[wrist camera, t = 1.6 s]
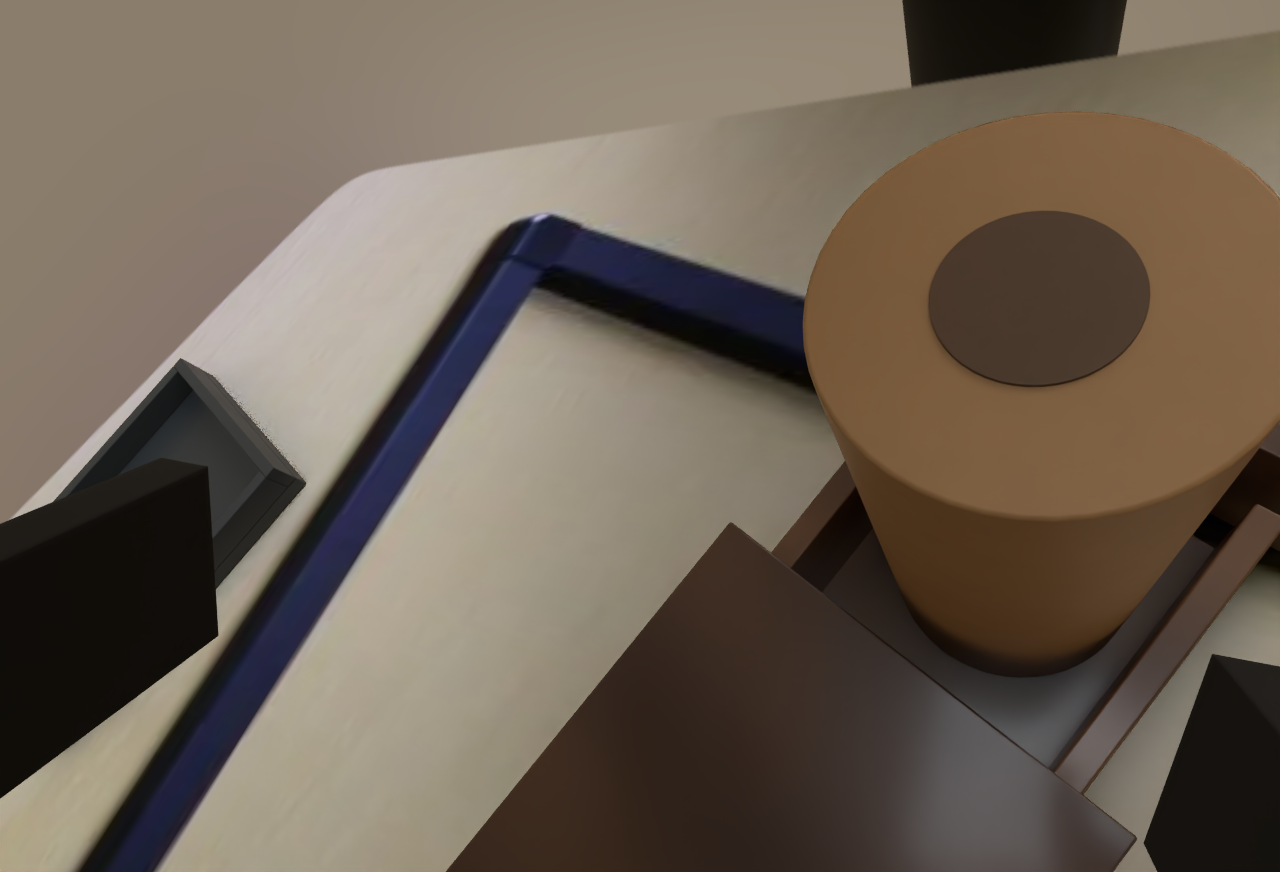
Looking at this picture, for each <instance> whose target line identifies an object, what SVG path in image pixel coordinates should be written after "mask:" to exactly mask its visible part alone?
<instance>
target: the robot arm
mask: <svg viewBox="0 0 1280 872" xmlns="http://www.w3.org/2000/svg"><path fill="white" fill-rule="evenodd" d="M217 636H218V621H217V605H216V588H215V572H214V555H213V539H212V523H211V506H210V490H209V474H208V466H203V465H198V464H192V463H187V462H182V461H176V460H171V459H165V458H159V459H156V460H154V461H151V462H149V463H147V464H144V465H142V466H139V467H137V468H134V469H132V470H130V471H127V472H125V473H122V474H120V475H117V476H115V477H113V478H110V479H108V480H105V481H103V482H101V483H98V484H96V485H93V486H91V487H88V488H86V489H84V490H81V491H79V492H76V493H74V494H72V495H69V496H67V497H64V498H62V499H59V500H57V501H55V502H52V503H50V504H47V505H45V506H42V507H40V508H38V509H35V510H33V511H30V512H28V513H26V514H23V515H21V516H18V517H16V518H13V519H11V520H9V521H6V522H4V523H2V524H0V798H2V797H3V796H4V795H6V794H7V793H8V792H10V791H11V790H12V789H14V788H15V787H16V786H18V785H19V784H20V783H22V782H23V781H24V780H26V779H27V778H28V777H30V776H31V775H33V774H34V773H35V772H37V771H38V770H39V769H41V768H42V767H43V766H45V765H46V764H47V763H49V762H50V761H51V760H53V759H54V758H55V757H57V756H58V755H59V754H61V753H62V752H63V751H65V750H66V749H67V748H69V747H70V746H71V745H73V744H74V743H75V742H77V741H78V740H79V739H81V738H82V737H83V736H85V735H86V734H87V733H89V732H90V731H91V730H93V729H94V728H95V727H97V726H98V725H99V724H101V723H102V722H103V721H105V720H106V719H107V718H109V717H110V716H112V715H113V714H114V713H116V712H117V711H118V710H120V709H121V708H122V707H124V706H125V705H126V704H128V703H129V702H130V701H132V700H133V699H134V698H136V697H137V696H138V695H140V694H141V693H142V692H144V691H145V690H146V689H148V688H149V687H150V686H152V685H153V684H154V683H156V682H157V681H158V680H160V679H161V678H162V677H164V676H165V675H166V674H168V673H169V672H170V671H172V670H173V669H174V668H176V667H177V666H178V665H180V664H181V663H182V662H184V661H185V660H186V659H188V658H189V657H191V656H192V655H193V654H195V653H196V652H197V651H199V650H200V649H201V648H203V647H204V646H205V645H207V644H208V643H209V642H211V641H212V640H213V639H215V638H216V637H217ZM1144 845H1145V847H1146V849H1147V851H1148V853H1149V855H1150V857H1151V859H1152V861H1153V863H1154V866H1155V868H1156V870H1157V872H1280V667H1279V666H1273V665H1268V664H1263V663H1257V662H1252V661H1247V660H1241V659H1236V658H1231V657H1225V656H1220V655H1215V654H1212V656H1211V659H1210V662H1209V665H1208V667H1207V670H1206V673H1205V676H1204V678H1203V681H1202V684H1201V687H1200V689H1199V692H1198V695H1197V698H1196V700H1195V703H1194V706H1193V709H1192V711H1191V714H1190V717H1189V720H1188V722H1187V725H1186V728H1185V731H1184V733H1183V736H1182V739H1181V742H1180V744H1179V747H1178V750H1177V753H1176V755H1175V758H1174V761H1173V764H1172V766H1171V769H1170V772H1169V775H1168V777H1167V780H1166V783H1165V786H1164V788H1163V791H1162V794H1161V797H1160V799H1159V802H1158V805H1157V808H1156V810H1155V813H1154V816H1153V819H1152V821H1151V824H1150V827H1149V830H1148V832H1147V835H1146V838H1145V841H1144Z"/></svg>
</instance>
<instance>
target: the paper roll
mask: <svg viewBox="0 0 1280 872" xmlns="http://www.w3.org/2000/svg"><path fill="white" fill-rule="evenodd" d="M803 339H804V350H805V355H806V360H807V365H808V369H809V373H810V376H811V379H812V381H813V384H814V387H815V389H816V392H817V395H818V397H819V399H820V402H821V404H822V407H823V409H824V411H825V414H826V416H827V419H828V421H829V423H830V426H831V428H832V430H833V433H834V435H835V438H836V440H837V442H838V445H839V447H840V450H841V452H842V454H843V457H844V459H845V461H846V464H847V466H848V469H849V471H850V473H851V476H852V478H853V480H854V483H855V485H856V488H857V490H858V492H859V495H860V497H861V500H862V502H863V504H864V507H865V509H866V511H867V514H868V516H869V519H870V521H871V523H872V526H873V528H874V531H875V533H876V535H877V538H878V540H879V542H880V545H881V547H882V550H883V552H884V554H885V557H886V559H887V561H888V564H889V566H890V569H891V571H892V573H893V576H894V578H895V581H896V583H897V585H898V588H899V590H900V592H901V595H902V597H903V600H904V602H905V604H906V606H907V608H908V610H909V612H910V614H911V616H912V618H913V619H914V621H915V622H916V623H917V625H918V626H919V628H920V629H921V630H922V631H923V632H924V633H925V635H926V636H927V637H928V638H929V639H930V640H931V641H932V642H933V643H934V644H936V645H937V646H938V647H939V648H940V649H941V650H943V651H944V652H945V653H947V654H949V655H950V656H952V657H953V658H955V659H956V660H958V661H960V662H962V663H964V664H966V665H968V666H970V667H973V668H975V669H978V670H981V671H984V672H987V673H991V674H996V675H1000V676H1007V677H1017V678H1023V677H1040V676H1047V675H1052V674H1055V673H1059V672H1062V671H1066V670H1068V669H1070V668H1073V667H1075V666H1077V665H1080V664H1081V663H1083V662H1085V661H1086V660H1088V659H1089V658H1091V657H1093V656H1094V655H1095V654H1096V653H1098V652H1099V651H1100V650H1101V649H1102V648H1104V647H1105V646H1106V644H1107V643H1108V642H1109V641H1110V640H1111V639H1112V638H1113V637H1114V635H1115V634H1116V633H1117V632H1118V630H1119V629H1120V628H1121V626H1122V625H1123V624H1124V623H1125V621H1126V620H1127V619H1128V617H1129V616H1130V615H1131V614H1132V612H1133V611H1134V610H1135V608H1136V607H1137V606H1138V604H1139V603H1140V602H1141V601H1142V599H1143V598H1144V597H1145V595H1146V594H1147V593H1148V592H1149V590H1150V589H1151V588H1152V586H1153V585H1154V584H1155V582H1156V581H1157V580H1158V579H1159V577H1160V576H1161V575H1162V573H1163V572H1164V571H1165V570H1166V568H1167V567H1168V566H1169V564H1170V563H1171V562H1172V561H1173V559H1174V558H1175V557H1176V555H1177V554H1178V553H1179V551H1180V550H1181V549H1182V548H1183V546H1184V545H1185V544H1186V542H1187V541H1188V540H1189V539H1190V537H1191V536H1192V535H1193V533H1194V532H1195V531H1196V529H1197V528H1198V527H1199V526H1200V524H1201V523H1202V522H1203V520H1204V519H1205V518H1206V517H1207V515H1208V514H1209V513H1210V511H1211V510H1212V509H1213V507H1214V506H1215V505H1216V504H1217V502H1218V501H1219V500H1220V498H1221V497H1222V496H1223V495H1224V493H1225V492H1226V491H1227V489H1228V488H1229V487H1230V486H1231V484H1232V483H1233V482H1234V480H1235V479H1236V478H1237V476H1238V475H1239V474H1240V473H1241V471H1242V470H1243V469H1244V467H1245V466H1246V465H1247V464H1248V462H1249V461H1250V460H1251V458H1252V457H1253V456H1254V454H1255V453H1256V452H1257V451H1258V449H1259V448H1260V447H1261V445H1262V444H1263V443H1264V442H1265V440H1266V439H1267V438H1268V436H1269V435H1270V434H1271V433H1272V431H1273V430H1274V429H1275V427H1276V426H1277V425H1278V423H1279V422H1280V198H1279V197H1278V196H1277V194H1276V193H1275V192H1274V191H1273V190H1272V189H1271V188H1270V187H1269V186H1268V185H1267V184H1266V183H1265V182H1264V181H1263V180H1262V179H1261V178H1260V177H1259V176H1257V175H1256V174H1255V173H1254V172H1253V171H1252V170H1251V169H1249V168H1248V167H1247V166H1245V165H1244V164H1242V163H1241V162H1239V161H1238V160H1237V159H1235V158H1234V157H1232V156H1231V155H1230V154H1228V153H1227V152H1225V151H1223V150H1221V149H1219V148H1217V147H1215V146H1214V145H1212V144H1210V143H1208V142H1206V141H1204V140H1202V139H1201V138H1198V137H1196V136H1193V135H1191V134H1188V133H1185V132H1183V131H1180V130H1178V129H1175V128H1173V127H1170V126H1166V125H1162V124H1159V123H1155V122H1151V121H1148V120H1144V119H1140V118H1134V117H1128V116H1121V115H1115V114H1109V113H1092V112H1053V113H1041V114H1033V115H1025V116H1018V117H1013V118H1008V119H1004V120H999V121H995V122H991V123H986V124H983V125H980V126H977V127H974V128H971V129H968V130H965V131H962V132H959V133H957V134H954V135H952V136H950V137H947V138H945V139H943V140H940V141H938V142H936V143H933V144H931V145H930V146H928V147H926V148H924V149H922V150H921V151H919V152H917V153H915V154H913V155H912V156H910V157H908V158H907V159H905V160H904V161H902V162H901V163H899V164H898V165H896V166H895V167H894V168H892V169H891V170H889V171H888V172H886V173H885V174H884V175H883V176H882V177H880V178H879V179H878V180H877V181H876V182H875V183H873V184H872V185H871V186H870V187H869V188H868V189H866V190H865V191H864V192H863V193H862V195H861V196H860V197H859V198H858V199H857V200H856V201H855V202H854V203H853V204H852V205H851V206H850V207H849V209H848V210H847V211H846V212H845V214H844V215H843V216H842V218H841V219H840V221H839V222H838V223H837V225H836V226H835V227H834V229H833V230H832V232H831V234H830V235H829V237H828V239H827V241H826V243H825V244H824V246H823V248H822V250H821V252H820V254H819V256H818V259H817V261H816V264H815V266H814V269H813V272H812V274H811V277H810V281H809V285H808V289H807V293H806V297H805V304H804V315H803Z"/></svg>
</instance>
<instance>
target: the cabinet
mask: <svg viewBox="0 0 1280 872" xmlns="http://www.w3.org/2000/svg"><path fill="white" fill-rule="evenodd" d="M1136 841H1137V838H1136V836H1135V835H1134V834H1132V833H1131V832H1130V831H1128V830H1127V829H1126V828H1125V827H1123V826H1122V825H1121V824H1119V823H1118V822H1117V821H1116V820H1114V819H1113V818H1112V817H1110V816H1109V815H1108V814H1107V813H1105V812H1104V811H1103V810H1101V809H1100V808H1099V807H1098V806H1096V805H1095V804H1094V803H1092V802H1091V801H1090V800H1089V799H1087V798H1086V797H1085V796H1083V795H1082V794H1081V793H1080V792H1078V791H1077V790H1076V789H1074V788H1073V787H1072V786H1071V785H1069V784H1068V783H1067V782H1065V781H1064V780H1063V779H1062V778H1060V777H1059V776H1058V775H1056V774H1055V773H1054V772H1053V771H1051V770H1050V769H1049V768H1047V767H1046V766H1045V765H1043V764H1042V763H1041V762H1040V761H1038V760H1037V759H1036V758H1034V757H1033V756H1032V755H1031V754H1029V753H1028V752H1027V751H1025V750H1024V749H1023V748H1022V747H1020V746H1019V745H1018V744H1016V743H1015V742H1014V741H1013V740H1011V739H1010V738H1009V737H1007V736H1006V735H1005V734H1004V733H1002V732H1001V731H1000V730H998V729H997V728H996V727H995V726H993V725H992V724H991V723H989V722H988V721H987V720H986V719H984V718H983V717H982V716H980V715H979V714H978V713H977V712H975V711H974V710H973V709H971V708H970V707H969V706H967V705H966V704H965V703H964V702H962V701H961V700H960V699H958V698H957V697H956V696H955V695H953V694H952V693H951V692H949V691H948V690H947V689H946V688H944V687H943V686H942V685H940V684H939V683H938V682H937V681H935V680H934V679H933V678H931V677H930V676H929V675H928V674H926V673H925V672H924V671H922V670H921V669H920V668H919V667H917V666H916V665H915V664H913V663H912V662H911V661H910V660H908V659H907V658H906V657H904V656H903V655H902V654H901V653H899V652H898V651H897V650H895V649H894V648H893V647H891V646H890V645H889V644H888V643H886V642H885V641H884V640H882V639H881V638H880V637H879V636H877V635H876V634H875V633H873V632H872V631H871V630H870V629H868V628H867V627H866V626H864V625H863V624H862V623H861V622H859V621H858V620H857V619H855V618H854V617H853V616H852V615H850V614H849V613H848V612H846V611H845V610H844V609H843V608H841V607H840V606H839V605H837V604H836V603H835V602H834V601H832V600H831V599H830V598H828V597H827V596H826V595H825V594H823V593H822V592H821V591H819V590H818V589H817V588H816V587H814V586H813V585H812V584H810V583H809V582H808V581H806V580H805V579H804V578H803V577H801V576H800V575H799V574H797V573H796V572H795V571H794V570H792V569H791V568H790V567H788V566H787V565H786V564H785V563H783V562H782V561H781V560H779V559H778V558H777V557H776V556H774V555H773V554H772V553H770V552H769V551H768V550H767V549H765V548H764V547H763V546H761V545H760V544H759V543H758V542H756V541H755V540H754V539H752V538H751V537H750V536H749V535H747V534H746V533H745V532H743V531H742V530H741V529H740V528H738V527H737V526H736V525H734V524H733V523H731V522H730V523H729V524H728V525H727V526H726V528H725V529H724V530H723V531H722V533H721V534H720V535H719V536H718V538H717V539H716V540H715V541H714V542H713V544H712V545H711V546H710V547H709V549H708V550H707V551H706V552H705V554H704V555H703V556H702V557H701V558H700V560H699V561H698V562H697V563H696V565H695V566H694V567H693V568H692V570H691V571H690V572H689V573H688V574H687V576H686V577H685V578H684V579H683V581H682V582H681V583H680V584H679V586H678V587H677V588H676V589H675V590H674V592H673V593H672V594H671V595H670V597H669V598H668V599H667V600H666V602H665V603H664V604H663V605H662V606H661V608H660V609H659V610H658V611H657V613H656V614H655V615H654V616H653V618H652V619H651V620H650V621H649V622H648V624H647V625H646V626H645V627H644V629H643V630H642V631H641V632H640V633H639V635H638V636H637V637H636V638H635V640H634V641H633V642H632V643H631V645H630V646H629V647H628V648H627V649H626V651H625V652H624V653H623V654H622V656H621V657H620V658H619V659H618V661H617V662H616V663H615V664H614V665H613V667H612V668H611V669H610V670H609V672H608V673H607V674H606V675H605V677H604V678H603V679H602V680H601V681H600V683H599V684H598V685H597V686H596V688H595V689H594V690H593V691H592V693H591V694H590V695H589V696H588V697H587V699H586V700H585V701H584V702H583V704H582V705H581V706H580V707H579V709H578V710H577V711H576V712H575V713H574V715H573V716H572V717H571V718H570V720H569V721H568V722H567V723H566V725H565V726H564V727H563V728H562V729H561V731H560V732H559V733H558V734H557V736H556V737H555V738H554V739H553V741H552V742H551V743H550V744H549V745H548V747H547V748H546V749H545V750H544V752H543V753H542V754H541V755H540V757H539V758H538V759H537V760H536V761H535V763H534V764H533V765H532V766H531V768H530V769H529V770H528V771H527V773H526V774H525V775H524V776H523V777H522V779H521V780H520V781H519V782H518V784H517V785H516V786H515V787H514V788H513V790H512V791H511V792H510V793H509V795H508V796H507V797H506V798H505V800H504V801H503V802H502V803H501V804H500V806H499V807H498V808H497V809H496V811H495V812H494V813H493V814H492V816H491V817H490V818H489V819H488V820H487V822H486V823H485V824H484V825H483V827H482V828H481V829H480V830H479V832H478V833H477V834H476V835H475V836H474V838H473V839H472V840H471V841H470V843H469V844H468V845H467V846H466V848H465V849H464V850H463V851H462V852H461V854H460V855H459V856H458V857H457V859H456V860H455V861H454V862H453V864H452V865H451V866H450V867H449V868H448V870H447V871H446V872H1113V871H1114V870H1115V869H1116V867H1117V866H1118V865H1119V863H1120V862H1121V861H1122V859H1123V858H1124V857H1125V855H1126V854H1127V853H1128V851H1129V850H1130V849H1131V847H1132V846H1133V845H1134V843H1135V842H1136Z"/></svg>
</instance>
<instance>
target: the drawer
mask: <svg viewBox="0 0 1280 872" xmlns="http://www.w3.org/2000/svg"><path fill="white" fill-rule="evenodd" d="M1210 513H1211V514H1213V515H1215V516H1217V517H1218V518H1220V519H1222V520H1224V521H1226V522H1227V523H1229V524H1231V525H1233V526H1235V527H1234V528H1233V529H1232V530H1231V531H1230V532H1229V533H1228V535H1227V536H1226V537H1225V538H1224V539H1223V540H1222V541H1221V542H1220V543H1219V544H1218V546H1217V547H1216V548H1215V547H1213V546H1211V545H1209V544H1208V543H1206V542H1204V541H1202V540H1201V539H1199V538H1197V537H1195V536H1194V535H1192V536H1191V537H1190V539H1189V540H1188V541H1187V542H1186V544H1185V545H1184V546H1183V548H1182V549H1181V550H1180V551H1179V553H1178V554H1177V555H1176V557H1175V558H1174V559H1173V561H1172V562H1171V563H1170V564H1169V566H1168V567H1167V568H1166V570H1165V571H1164V572H1163V573H1162V575H1161V576H1160V577H1159V579H1158V580H1157V581H1156V582H1155V584H1154V585H1153V586H1152V588H1151V589H1150V590H1149V592H1148V593H1147V594H1146V595H1145V597H1144V598H1143V599H1142V601H1141V602H1140V603H1139V604H1138V606H1137V607H1136V608H1135V610H1134V611H1133V612H1132V614H1131V615H1130V616H1129V617H1128V619H1127V620H1126V621H1125V623H1124V624H1123V625H1122V626H1121V628H1120V629H1119V630H1118V632H1117V633H1116V634H1115V635H1114V637H1113V638H1112V639H1111V640H1110V641H1109V642H1108V643H1107V644H1106V646H1105V647H1104V648H1102V649H1101V650H1100V651H1099V652H1098V653H1096V654H1095V655H1094V656H1093V657H1091V658H1089V659H1088V660H1086V661H1085V662H1083V663H1081V664H1080V665H1077V666H1075V667H1073V668H1070V669H1068V670H1066V671H1062V672H1059V673H1055V674H1052V675H1047V676H1040V677H1023V678H1017V677H1007V676H1000V675H996V674H991V673H987V672H984V671H981V670H978V669H975V668H973V667H970V666H968V665H966V664H964V663H962V662H960V661H958V660H956V659H955V658H953V657H952V656H950V655H949V654H947V653H945V652H944V651H943V650H941V649H940V648H939V647H938V646H937V645H936V644H934V643H933V642H932V641H931V640H930V639H929V638H928V637H927V636H926V635H925V633H924V632H923V631H922V630H921V629H920V628H919V626H918V625H917V623H916V622H915V621H914V619H913V618H912V616H911V614H910V612H909V610H908V608H907V606H906V604H905V602H904V600H903V597H902V595H901V592H900V590H899V588H898V585H897V583H896V581H895V578H894V576H893V573H892V571H891V569H890V566H889V564H888V561H887V559H886V557H885V554H884V552H883V550H882V547H881V545H880V542H879V540H878V538H877V535H876V533H875V531H874V528H873V526H872V523H871V521H870V519H869V516H868V514H867V511H866V509H865V507H864V504H863V502H862V500H861V497H860V495H859V492H858V490H857V488H856V485H855V483H854V480H853V478H852V476H851V473H850V471H849V469H848V466H847V464H846V461H845V462H844V463H843V464H842V466H841V467H840V468H839V469H838V471H837V472H836V473H835V474H834V475H833V477H832V478H831V479H830V480H829V482H828V483H827V484H826V485H825V487H824V488H823V489H822V490H821V492H820V493H819V494H818V495H817V497H816V498H815V499H814V500H813V502H812V503H811V504H810V505H809V507H808V508H807V509H806V510H805V511H804V513H803V514H802V515H801V516H800V518H799V519H798V520H797V521H796V523H795V524H794V525H793V526H792V528H791V529H790V530H789V531H788V533H787V534H786V535H785V536H784V538H783V539H782V540H781V541H780V542H779V544H778V545H777V546H776V547H775V549H774V550H773V551H772V552H771V553H772V554H773V555H774V556H776V557H777V558H778V559H779V560H781V561H782V562H783V563H785V564H786V565H787V566H788V567H790V568H791V569H792V570H794V571H795V572H796V573H797V574H799V575H800V576H801V577H803V578H804V579H805V580H806V581H808V582H809V583H810V584H812V585H813V586H814V587H816V588H817V589H818V590H819V591H821V592H822V593H823V594H825V595H826V596H827V597H828V598H830V599H831V600H832V601H834V602H835V603H836V604H837V605H839V606H840V607H841V608H843V609H844V610H845V611H846V612H848V613H849V614H850V615H852V616H853V617H854V618H855V619H857V620H858V621H859V622H861V623H862V624H863V625H864V626H866V627H867V628H868V629H870V630H871V631H872V632H873V633H875V634H876V635H877V636H879V637H880V638H881V639H882V640H884V641H885V642H886V643H888V644H889V645H890V646H891V647H893V648H894V649H895V650H897V651H898V652H899V653H901V654H902V655H903V656H904V657H906V658H907V659H908V660H910V661H911V662H912V663H913V664H915V665H916V666H917V667H919V668H920V669H921V670H922V671H924V672H925V673H926V674H928V675H929V676H930V677H931V678H933V679H934V680H935V681H937V682H938V683H939V684H940V685H942V686H943V687H944V688H946V689H947V690H948V691H949V692H951V693H952V694H953V695H955V696H956V697H957V698H958V699H960V700H961V701H962V702H964V703H965V704H966V705H967V706H969V707H970V708H971V709H973V710H974V711H975V712H977V713H978V714H979V715H980V716H982V717H983V718H984V719H986V720H987V721H988V722H989V723H991V724H992V725H993V726H995V727H996V728H997V729H998V730H1000V731H1001V732H1002V733H1004V734H1005V735H1006V736H1007V737H1009V738H1010V739H1011V740H1013V741H1014V742H1015V743H1016V744H1018V745H1019V746H1020V747H1022V748H1023V749H1024V750H1025V751H1027V752H1028V753H1029V754H1031V755H1032V756H1033V757H1034V758H1036V759H1037V760H1038V761H1040V762H1041V763H1042V764H1043V765H1045V766H1046V767H1047V768H1049V769H1050V770H1051V771H1053V772H1054V773H1055V774H1056V775H1058V776H1059V777H1060V778H1062V779H1063V780H1064V781H1065V782H1067V783H1068V784H1069V785H1071V786H1072V787H1073V788H1074V789H1076V790H1077V791H1078V792H1080V793H1081V794H1082V795H1083V794H1084V793H1085V791H1086V790H1087V789H1088V787H1089V786H1090V785H1091V783H1092V782H1093V781H1094V780H1095V778H1096V777H1097V776H1098V774H1099V773H1100V772H1101V770H1102V769H1103V768H1104V766H1105V765H1106V764H1107V762H1108V761H1109V760H1110V758H1111V757H1112V756H1113V754H1114V753H1115V752H1116V750H1117V749H1118V748H1119V746H1120V745H1121V744H1122V742H1123V741H1124V740H1125V738H1126V737H1127V736H1128V734H1129V733H1130V732H1131V730H1132V729H1133V728H1134V726H1135V725H1136V724H1137V722H1138V721H1139V720H1140V718H1141V717H1142V716H1143V714H1144V713H1145V712H1146V710H1147V709H1148V708H1149V706H1150V705H1151V704H1152V703H1153V701H1154V700H1155V699H1156V697H1157V696H1158V695H1159V693H1160V692H1161V691H1162V689H1163V688H1164V687H1165V685H1166V684H1167V683H1168V681H1169V680H1170V679H1171V677H1172V676H1173V675H1174V673H1175V672H1176V671H1177V669H1178V668H1179V667H1180V665H1181V664H1182V663H1183V661H1184V660H1185V659H1186V657H1187V656H1188V655H1189V653H1190V652H1191V651H1192V649H1193V648H1194V647H1195V645H1196V644H1197V643H1198V641H1199V640H1200V639H1201V637H1202V636H1203V635H1204V633H1205V632H1206V631H1207V629H1208V628H1209V627H1210V625H1211V624H1212V623H1213V622H1214V620H1215V619H1216V618H1217V616H1218V615H1219V614H1220V612H1221V611H1222V610H1223V608H1224V607H1225V606H1226V604H1227V603H1228V602H1229V600H1230V599H1231V598H1232V596H1233V595H1234V594H1235V592H1236V591H1237V590H1238V588H1239V587H1240V586H1241V584H1242V583H1243V582H1244V580H1245V579H1246V578H1247V576H1248V575H1249V574H1250V572H1251V571H1252V570H1253V568H1254V567H1255V566H1256V564H1257V563H1258V562H1259V560H1260V559H1261V558H1262V556H1263V555H1264V554H1265V552H1266V551H1267V550H1268V548H1269V547H1270V546H1271V547H1273V548H1275V549H1276V550H1278V551H1280V422H1279V423H1278V425H1277V426H1276V427H1275V429H1274V430H1273V431H1272V433H1271V434H1270V435H1269V436H1268V438H1267V439H1266V440H1265V442H1264V443H1263V444H1262V445H1261V447H1260V448H1259V449H1258V451H1257V452H1256V453H1255V454H1254V456H1253V457H1252V458H1251V460H1250V461H1249V462H1248V464H1247V465H1246V466H1245V467H1244V469H1243V470H1242V471H1241V473H1240V474H1239V475H1238V476H1237V478H1236V479H1235V480H1234V482H1233V483H1232V484H1231V486H1230V487H1229V488H1228V489H1227V491H1226V492H1225V493H1224V495H1223V496H1222V497H1221V498H1220V500H1219V501H1218V502H1217V504H1216V505H1215V506H1214V507H1213V509H1212V510H1211V511H1210Z"/></svg>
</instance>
